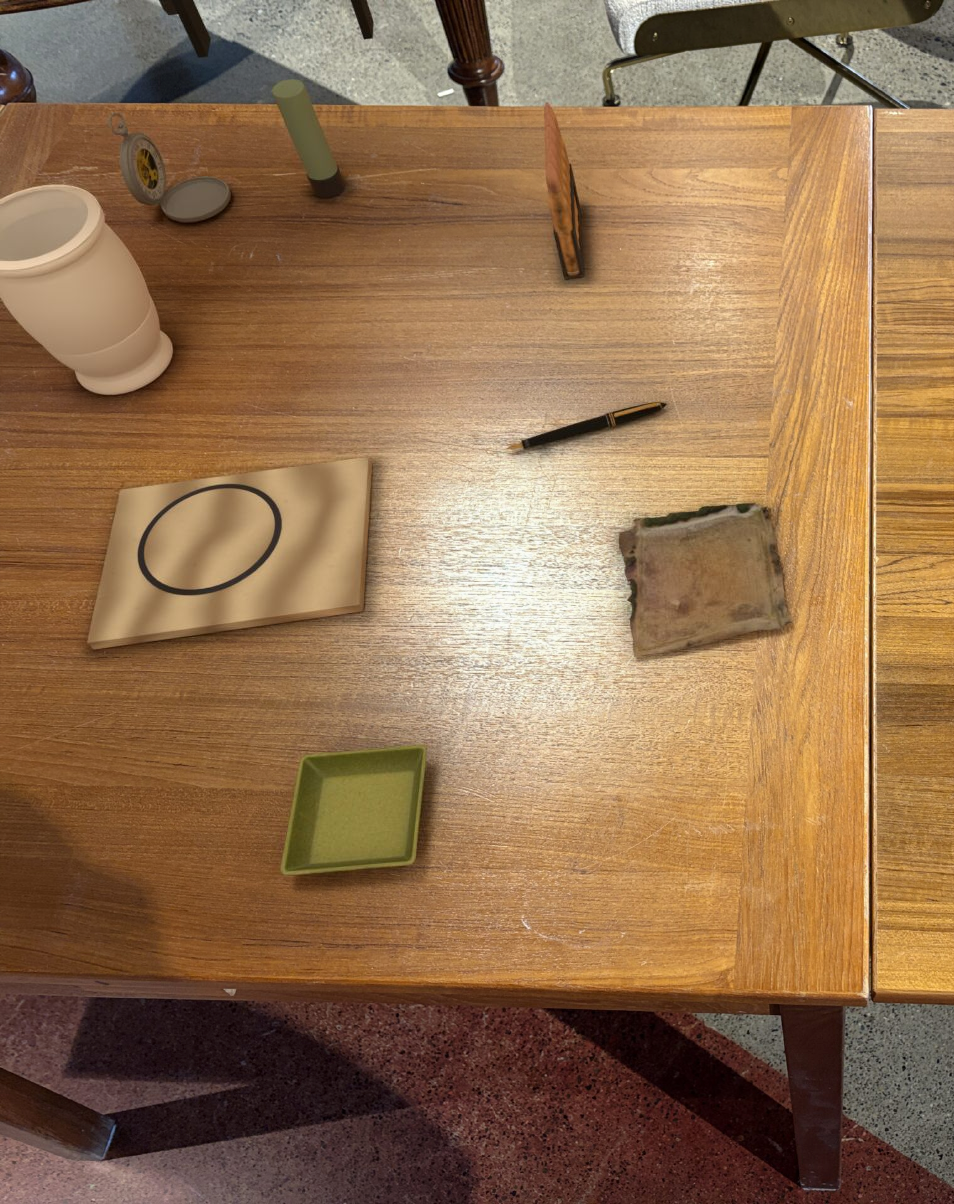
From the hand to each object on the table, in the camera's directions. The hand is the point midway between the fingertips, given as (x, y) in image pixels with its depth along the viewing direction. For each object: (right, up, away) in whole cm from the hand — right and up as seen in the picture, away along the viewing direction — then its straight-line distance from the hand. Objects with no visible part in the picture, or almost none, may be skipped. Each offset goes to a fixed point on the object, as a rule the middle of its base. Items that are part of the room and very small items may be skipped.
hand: (287, 39), depth 98 cm
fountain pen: (+25, -33, 0) cm, 42 cm away
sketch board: (-1, -44, -6) cm, 44 cm away
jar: (-17, -26, +6) cm, 32 cm away
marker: (-4, -6, +19) cm, 21 cm away
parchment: (+36, -46, -9) cm, 59 cm away
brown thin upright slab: (+21, -13, +14) cm, 29 cm away
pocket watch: (-18, -8, +19) cm, 27 cm away
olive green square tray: (+14, -63, -19) cm, 67 cm away
